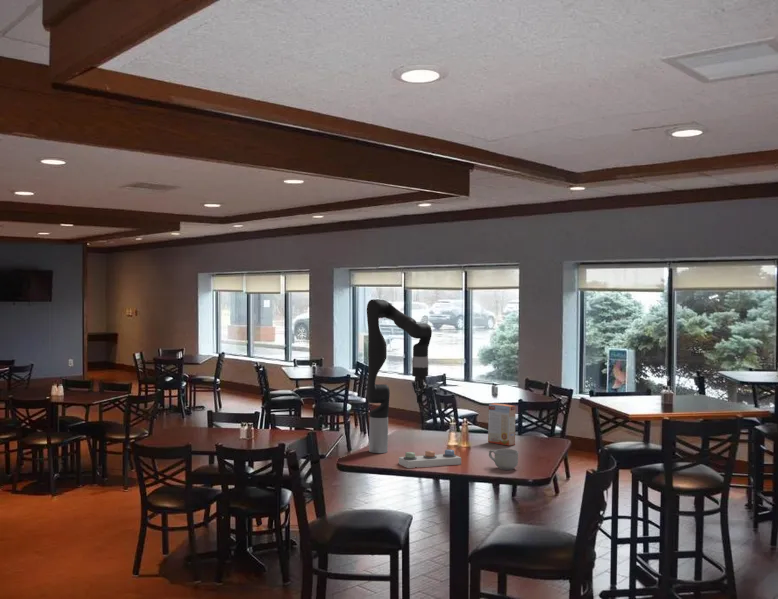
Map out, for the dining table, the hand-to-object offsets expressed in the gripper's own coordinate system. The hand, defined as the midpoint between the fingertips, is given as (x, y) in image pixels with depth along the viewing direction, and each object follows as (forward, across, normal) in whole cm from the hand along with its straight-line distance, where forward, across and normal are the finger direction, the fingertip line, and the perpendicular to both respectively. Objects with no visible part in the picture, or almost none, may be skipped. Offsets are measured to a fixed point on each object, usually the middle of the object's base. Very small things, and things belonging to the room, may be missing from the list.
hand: (419, 403), depth 351 cm
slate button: (+23, +8, +12) cm, 27 cm away
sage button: (+23, +8, -8) cm, 26 cm away
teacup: (+27, +26, +30) cm, 48 cm away
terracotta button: (+23, +8, +2) cm, 25 cm away
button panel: (+27, +8, +2) cm, 28 cm away
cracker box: (+27, -27, +61) cm, 72 cm away
